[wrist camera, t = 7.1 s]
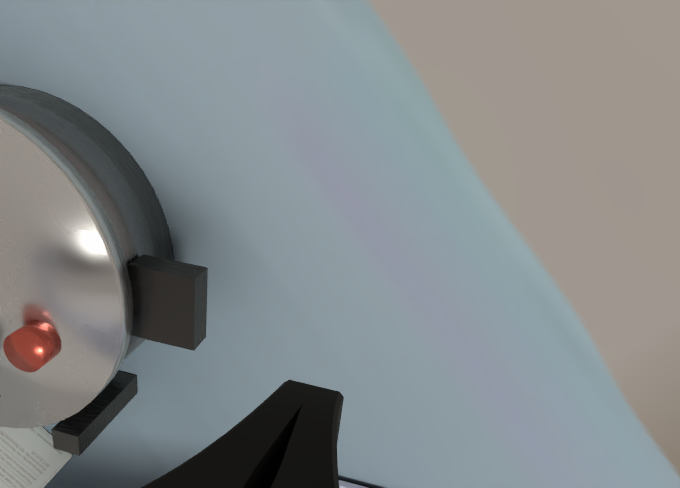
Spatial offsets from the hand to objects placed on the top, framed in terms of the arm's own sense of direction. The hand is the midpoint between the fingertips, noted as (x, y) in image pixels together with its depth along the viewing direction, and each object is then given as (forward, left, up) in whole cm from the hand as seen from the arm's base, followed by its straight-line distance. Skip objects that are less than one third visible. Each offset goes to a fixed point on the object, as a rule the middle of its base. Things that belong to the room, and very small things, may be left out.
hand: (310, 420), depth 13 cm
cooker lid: (-2, +15, -6) cm, 16 cm away
